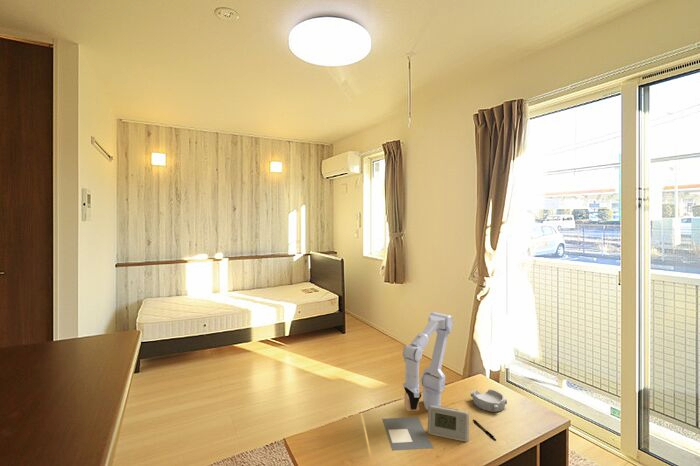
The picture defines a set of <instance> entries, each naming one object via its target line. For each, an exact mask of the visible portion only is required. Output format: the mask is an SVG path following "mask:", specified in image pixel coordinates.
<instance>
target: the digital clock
mask: <svg viewBox="0 0 700 466" xmlns="http://www.w3.org/2000/svg"><path fill="white" fill-rule="evenodd" d="M427 412H428V413H427V431H426V433H427V434H428V435H431V436H437V437H442V438H446V439H450V440H456V441H460V442H463V443H464V442H466V443H467V442H469V440H470V414H469V412H468V411H466V410H459V409H457V408H451V407H446V406H434V405H429V408H428V410H427Z"/></svg>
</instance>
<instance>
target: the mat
mask: <svg viewBox="0 0 700 466" xmlns="http://www.w3.org/2000/svg"><path fill="white" fill-rule="evenodd" d="M419 418H420V417H419V416H410V417H409V416H408V417H391V418H390V417H389V418H382V422H383V426H384V428H385V432H386V435H387V439H388V441H389V445H390V447H391V451H406V450H409V451H410V450H424V449H434V446H433V444H432V442H431V439H430V438H429V436H428V433H427V431H426V429H425V428H424V426H423V424H422V423H421V420H420V419H419Z"/></svg>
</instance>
